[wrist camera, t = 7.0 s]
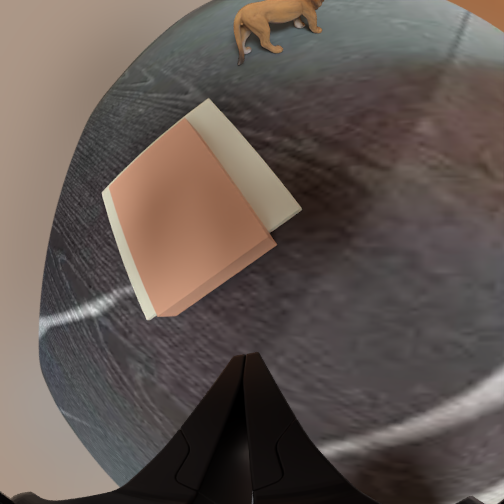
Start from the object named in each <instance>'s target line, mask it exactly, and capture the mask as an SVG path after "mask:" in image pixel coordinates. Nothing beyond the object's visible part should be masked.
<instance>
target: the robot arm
mask: <svg viewBox="0 0 504 504" xmlns="http://www.w3.org/2000/svg"><path fill="white" fill-rule="evenodd" d="M180 429H181V430H180ZM180 429H179V430H178V431H177V433H176V434H175V435H174V436H173V438H172V439H171V440H170V441H169V442H168V444H167V445H166V446H165V447H164V448H163V449H162V450H161V451H160V452H159V453H158V454H157V455H156V457H155V458H154V459H153V460H152V461H150V462H149V463H148V464H147V465H146V466H145V467H144V468H143V469H142V470H141V471H140V472H139V473H138V474H137V475H135V476H134V477H133V478H132V479H131V480H130V481H129V482H128V483H126V484H125V485H124V486H122V487H120V488H118V489H117V490H114V491H112V492H107V493H103V494H98V495H93V496H88V497H82V498H75V499H68V500H58V501H53V500H46V499H42V498H40V497H39V496H37V495H36V494H34V493H32V492H25V493H20V494H17V495H15V496H13V497H12V498H9V497H8V496H6V495H5V494H4V493H2V492H1V491H0V504H252V490H253V504H381V503H379V502H378V501H376V500H374V499H372V498H371V497H369V496H367V495H366V494H364V493H362V492H361V491H360V490H358V489H357V488H356V487H354V486H353V485H352V484H351V483H350V482H349V481H348V480H347V479H346V478H345V477H344V476H343V475H342V474H341V473H340V472H339V471H338V470H337V469H336V468H335V467H334V466H333V465H332V464H331V463H330V462H329V461H328V460H327V459H326V457H325V456H324V455H323V454H322V453H321V452H320V451H319V450H318V448H317V447H316V446H315V445H314V444H313V442H312V441H311V440H310V438H309V437H308V435H307V434H306V433H305V431H304V430H303V428H302V426H301V425H300V423H299V421H298V420H297V419H296V417H295V415H294V413H293V411H292V410H291V408H290V406H289V405H288V403H287V401H286V399H285V398H284V396H283V394H282V393H281V391H280V389H279V387H278V386H277V384H276V382H275V380H274V379H273V377H272V375H271V373H270V371H269V370H268V368H267V366H266V364H265V363H264V361H263V359H262V357H261V355H260V354H259V353H258V352H255V353H250V354H247V355H245V354H243V355H237V356H234V357H233V358H232V359H231V360H230V362H229V363H228V365H227V366H226V367H225V369H224V370H223V372H222V373H221V374H220V376H219V377H218V378H217V380H216V381H215V383H214V384H213V385H212V387H211V388H210V389H209V391H208V392H207V393H206V395H205V396H204V397H203V399H202V400H201V401H200V403H199V404H198V405H197V407H196V408H195V409H194V411H193V412H192V413H191V415H190V416H189V417H188V419H187V420H186V421H185V422H184V424H183V425H182V426H181V428H180ZM456 504H484V503H483V502H481V501H479V500H478V499H476V498H475V497H473V496H469V497H467V498H465V499H463V500H462V501H460V502H458V503H456ZM498 504H504V499H503V500H502V501H501V502H499V503H498Z"/></svg>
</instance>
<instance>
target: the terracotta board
mask: <svg viewBox="0 0 504 504" xmlns="http://www.w3.org/2000/svg"><path fill="white" fill-rule="evenodd" d="M109 190H110V193H111V197H112V200H113V203H114V206H115V209H116V213H117V216H118V219H119V222H120V225H121V228H122V230H123V233H124V236H125V239H126V242H127V244H128V247H129V250H130V253H131V255H132V258H133V260H134V263H135V265H136V268H137V270H138V273H139V275H140V278H141V280H142V283H143V285H144V287H145V290H146V292H147V294H148V297H149V299H150V301H151V303H152V306H153V308H154V310H155V312H156V314H157V317H160V316H177V315H178V314H180V313H181V312H182V311H184V310H185V309H187V308H188V307H190V306H191V305H193V304H194V303H195V302H197V301H198V300H200V299H201V298H203V297H204V296H205V295H207V294H208V293H210V292H211V291H213V290H214V289H215V288H217V287H218V286H220V285H221V284H222V283H224V282H225V281H227V280H228V279H230V278H231V277H232V276H234V275H235V274H237V273H238V272H240V271H241V270H242V269H244V268H245V267H247V266H248V265H249V264H251V263H252V262H254V261H255V260H256V259H258V258H259V257H261V256H262V255H264V254H265V253H266V252H268V251H269V250H271V249H272V248H273V247H275V246H276V245H277V244H276V242H275V241H274V239H273V238H272V236H271V235H270V233H269V232H268V230H267V229H266V227H265V226H264V225H263V223H262V222H261V220H260V219H259V217H258V216H257V214H256V213H255V212H254V210H253V209H252V207H251V206H250V204H249V203H248V201H247V200H246V199H245V197H244V196H243V194H242V193H241V191H240V190H239V189H238V187H237V186H236V184H235V183H234V181H233V180H232V179H231V177H230V176H229V174H228V173H227V172H226V170H225V169H224V167H223V166H222V165H221V163H220V162H219V160H218V159H217V158H216V156H215V155H214V153H213V152H212V151H211V149H210V148H209V146H208V145H207V144H206V142H205V141H204V140H203V138H202V137H201V135H200V134H199V133H198V131H197V130H196V129H195V128H194V127H193V126H192V125H191V124H190V123H189V122H188V120H187V119H186V118H184V119H182V120H181V121H180V122H179V123H177V124H176V125H175V126H174V127H172V128H171V129H170V130H169V131H168V132H166V133H165V134H164V135H163V136H162V137H161V138H159V139H158V140H157V141H156V142H155V143H154V144H153V145H151V146H150V147H149V148H148V149H147V150H146V151H145V152H144V153H143V154H141V155H140V156H139V157H138V158H137V159H136V160H135V161H134V162H133V163H132V164H131V165H130V166H129V167H128V168H127V169H126V170H125V171H124V172H123V173H122V174H121V175H120V176H119V177H118V178H117V179H116V180H115V181H114V182H113V183H112V184H111V185H110V186H109Z"/></svg>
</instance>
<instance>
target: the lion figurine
mask: <svg viewBox="0 0 504 504" xmlns="http://www.w3.org/2000/svg"><path fill="white" fill-rule="evenodd" d="M323 1H324V0H266V1H262V2H256V3H251V4H248V5H246V6H244V7H243V8H241V9H240V10H239V11H238V13H237V15H236V17H235V20H234V34H235V38H236V42H237V45H238V48H239V61H238V65H240V64H242V63H243V62H244V54H248V53H250V52H251V47H245V42H246V39H247V38H248V37H249V35H250V34H251V32H253V33H254V34H255V35H257V36H258V37H259V39H260V41H261V46H262V47H264V48H266V49H268V50H269V51H271V52H273V53H280V52H282V51H283V48H282V47H281V46H279V45H277V46H273V45H272V44H271V43H270V40H269V38H270V27H269V24H268V23H273V24H279V23H285V22H288V21H291V20H294V25H295V27H296V28H303V27H304V26H305V24H304V23H303V22H302V21H301V19H300V15H303V16H304V17H306V18H307V20H308V23H309V28H310V29H311V31H312V32H314V33H321V32H322V29H321V28H320V27H317V16H316V12H315V10H317V9H318V7H320V6H321V5H322V2H323Z"/></svg>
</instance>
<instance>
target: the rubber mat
mask: <svg viewBox="0 0 504 504" xmlns="http://www.w3.org/2000/svg"><path fill="white" fill-rule="evenodd" d="M184 118H186V119H187V120H188V122H189V123H190V124H191V125H192V126H193V127H194V128H195V129H196V130H197V131H198V133H199V134H200V135H201V137H202V138H203V140H204V141H205V142H206V144H207V145H208V146H209V148H210V149H211V151H212V152H213V153H214V155H215V156H216V158H217V159H218V160H219V162H220V163H221V165H222V166H223V167H224V169H225V170H226V172H227V173H228V174H229V176H230V177H231V179H232V180H233V181H234V183H235V184H236V186H237V187H238V189H239V190H240V191H241V193H242V194H243V196H244V197H245V199H246V200H247V201H248V203H249V204H250V206H251V207H252V209H253V210H254V212H255V213H256V214H257V216H258V217H259V219H260V220H261V222H262V223H263V225H264V226H265V227H266V229H267V230H268V232H269V233H271V232H272V231H274V230H275V229H276V228H278V227H279V226H280V225H282V224H283V223H285V222H286V221H287V220H289V219H290V218H292V217H293V216H294V215H296V214H297V213H299V212H300V211H301V210H302V208H301V207H300V205H299V204H298V203H297V201H296V200H295V199H294V198H293V196H292V195H291V194H290V193H289V191H288V190H287V189H286V187H285V186H284V185H283V184H282V182H281V181H280V180H279V179H278V177H277V176H276V175H275V174H274V173H273V171H272V170H271V169H270V168H269V166H268V165H267V164H266V163H265V162H264V160H263V159H262V158H261V157H260V156H259V154H258V153H257V152H256V151H255V150H254V148H253V147H252V146H251V145H250V144H249V143H248V141H247V140H246V139H245V138H244V137H243V136H242V135H241V133H240V132H239V131H238V130H237V129H236V128H235V127H234V125H233V124H232V123H231V122H230V121H229V120H228V119H227V118H226V117H225V115H224V114H223V113H222V112H221V111H220V110H219V109H218V108H217V107H216V106H215V105H214V103H213V102H212V101H211V100H210V99H209V98H208V99H207V100H206V101H204V102H203V103H201V104H200V105H199V106H197V107H196V108H195V109H193V110H192V111H191V112H190V113H188V114H187V115H186V116H184V117H183V118H182V119H184ZM182 119H181V120H182ZM181 120H179V121H178V122H177V123H179V122H180V121H181ZM177 123H176V124H177ZM176 124H174V125H173V126H172V127H174V126H175V125H176ZM172 127H171V128H172ZM171 128H170V129H171ZM170 129H168V130H167V131H166V132H168V131H169V130H170ZM166 132H165V133H166ZM165 133H164V134H165ZM164 134H162V135H161V136H160V137H159V138H161V137H162V136H163V135H164ZM159 138H158V139H159ZM158 139H157V140H158ZM157 140H156V141H157ZM156 141H154V142H153V143H152V144H151V145H153V144H154V143H155V142H156ZM151 145H150V146H151ZM150 146H149V147H150ZM149 147H148V148H149ZM148 148H147V149H148ZM147 149H145V150H144V151H143V152H142V153H141V154H143V153H144V152H145V151H146V150H147ZM141 154H140V155H141ZM140 155H139V156H140ZM139 156H138V157H139ZM138 157H137V158H138ZM137 158H136V159H137ZM136 159H135V160H136ZM135 160H134V161H135ZM134 161H133V162H134ZM133 162H132V163H133ZM132 163H130V164H129V165H128V166H127V167H126V168H125V169H124V170H123V171H122V172H121V173H120V174H119V175H118V176H117V177H116V178H115V179H114V180H113V181H112V182H111V184H112V183H113V182H114V181H115V180H116V179H117V178H118V177H119V176H120V175H121V174H122V173H123V172H124V171H125V170H126V169H127V168H128V167H129V166H130V165H131V164H132ZM111 184H110V185H111ZM110 185H109V186H110ZM109 186H108V187H107V188H106V189H105V190H104V191H103V192H102V196H103V200H104V203H105V207H106V210H107V214H108V217H109V221H110V224H111V227H112V230H113V233H114V236H115V239H116V242H117V245H118V248H119V251H120V254H121V257H122V260H123V262H124V265H125V268H126V271H127V273H128V276H129V278H130V281H131V284H132V286H133V289H134V291H135V294H136V296H137V298H138V301H139V303H140V305H141V308H142V310H143V312H144V315H145V317H146V319H147V320H151V319H152V318H153V317H155V316H156V315H157V314H156V312H155V310H154V308H153V306H152V303H151V301H150V299H149V297H148V294H147V292H146V290H145V287H144V285H143V283H142V280H141V278H140V275H139V273H138V270H137V268H136V265H135V263H134V260H133V258H132V255H131V253H130V250H129V247H128V244H127V242H126V239H125V236H124V233H123V230H122V228H121V225H120V222H119V219H118V216H117V213H116V209H115V206H114V203H113V200H112V197H111V193H110V190H109Z"/></svg>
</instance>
